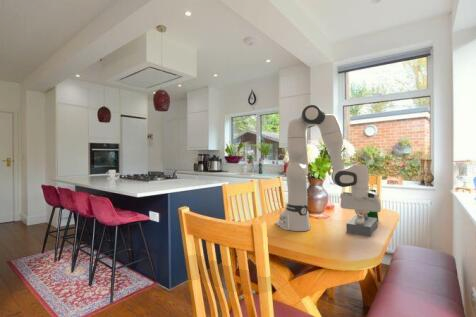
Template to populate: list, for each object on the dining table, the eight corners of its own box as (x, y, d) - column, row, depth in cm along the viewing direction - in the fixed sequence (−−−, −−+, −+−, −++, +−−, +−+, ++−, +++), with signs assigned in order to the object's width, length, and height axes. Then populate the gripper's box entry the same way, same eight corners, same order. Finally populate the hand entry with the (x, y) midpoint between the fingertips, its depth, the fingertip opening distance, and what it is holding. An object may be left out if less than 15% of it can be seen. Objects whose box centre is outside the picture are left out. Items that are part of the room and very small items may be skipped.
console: (370, 236, 133) (370, 226, 133) (346, 232, 140) (346, 223, 140) (377, 226, 152) (377, 218, 152) (355, 223, 159) (355, 215, 159)
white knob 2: (368, 219, 149) (368, 208, 149) (360, 218, 152) (360, 207, 152) (370, 218, 153) (370, 206, 153) (361, 217, 156) (361, 206, 155)
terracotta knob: (366, 222, 143) (366, 210, 143) (357, 221, 145) (357, 209, 145) (367, 220, 146) (367, 209, 146) (359, 219, 149) (359, 208, 149)
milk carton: (380, 221, 164) (380, 190, 164) (369, 222, 161) (369, 191, 161) (369, 218, 172) (369, 189, 172) (359, 219, 169) (359, 189, 169)
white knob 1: (363, 232, 136) (363, 219, 136) (354, 230, 139) (354, 218, 139) (365, 230, 140) (365, 217, 140) (356, 228, 143) (356, 216, 143)
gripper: (338, 192, 143) (339, 216, 143) (380, 195, 131) (380, 222, 131) (341, 191, 148) (341, 214, 148) (381, 193, 136) (381, 219, 136)
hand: (360, 218), depth 139 cm, fingers closed, pressing on white knob 1
